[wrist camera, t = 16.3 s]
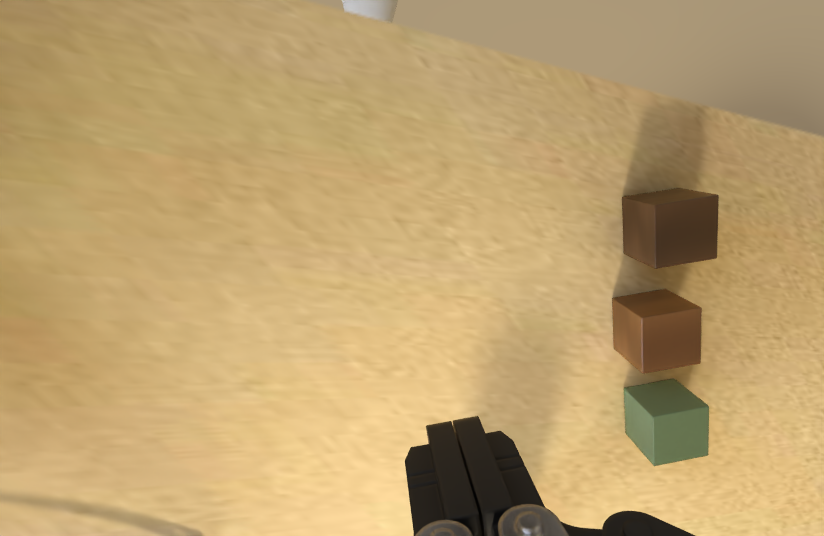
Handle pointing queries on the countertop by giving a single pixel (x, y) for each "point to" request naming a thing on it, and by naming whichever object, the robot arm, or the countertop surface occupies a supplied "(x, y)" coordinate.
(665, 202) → the walnut block
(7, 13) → the countertop surface
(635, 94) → the countertop surface
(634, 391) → the sage block
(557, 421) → the countertop surface
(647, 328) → the oak block
